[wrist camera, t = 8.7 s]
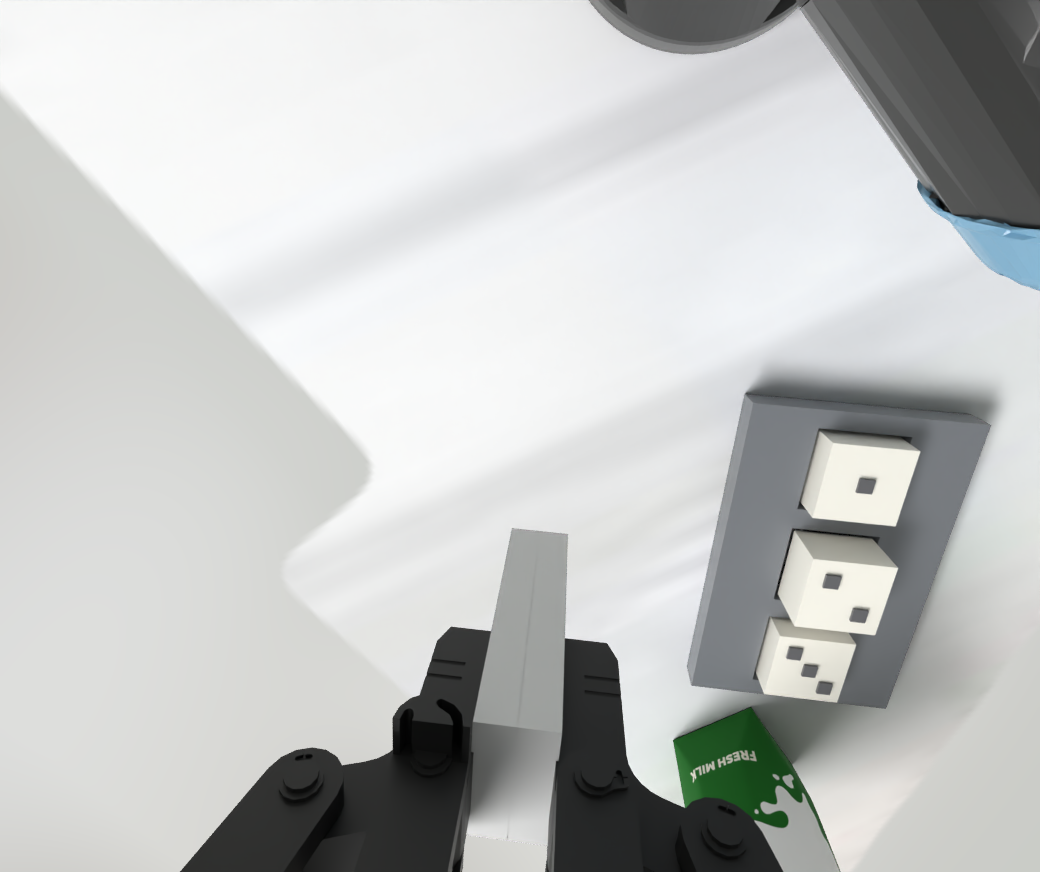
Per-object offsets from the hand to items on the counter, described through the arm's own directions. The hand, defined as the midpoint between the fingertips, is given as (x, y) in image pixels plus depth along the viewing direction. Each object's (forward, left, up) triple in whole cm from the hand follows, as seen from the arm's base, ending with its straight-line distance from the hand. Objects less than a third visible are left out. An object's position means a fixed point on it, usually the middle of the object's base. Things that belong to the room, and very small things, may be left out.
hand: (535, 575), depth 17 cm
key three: (+19, +19, -24) cm, 36 cm away
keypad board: (+12, +19, -24) cm, 33 cm away
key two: (+12, +19, -23) cm, 32 cm away
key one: (+5, +19, -24) cm, 31 cm away
